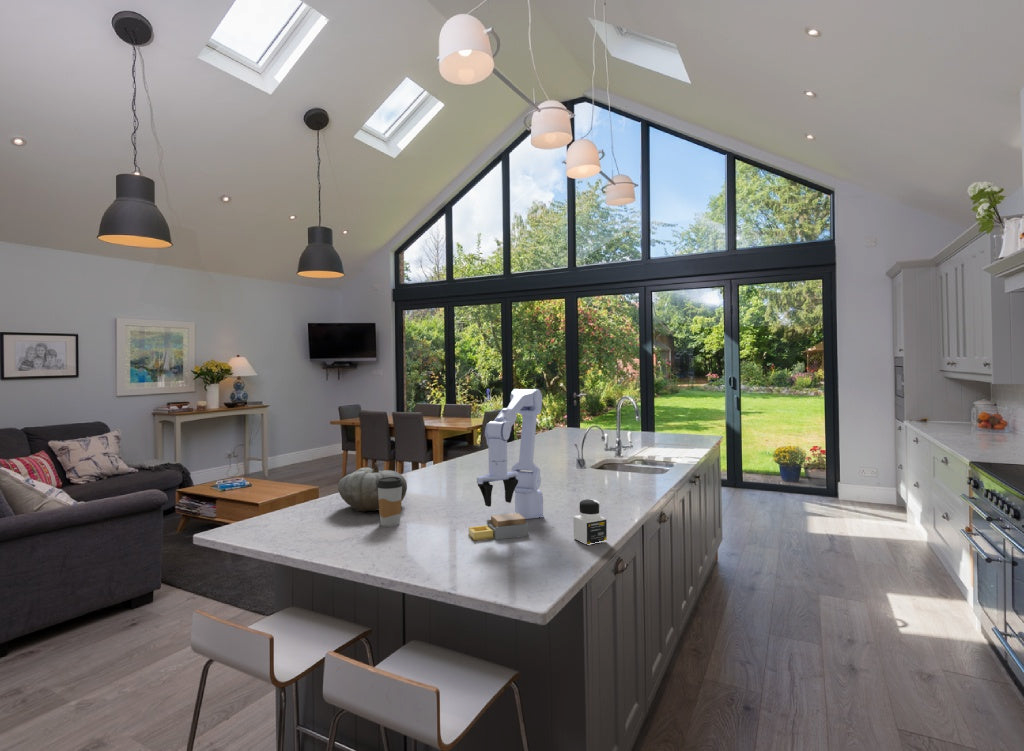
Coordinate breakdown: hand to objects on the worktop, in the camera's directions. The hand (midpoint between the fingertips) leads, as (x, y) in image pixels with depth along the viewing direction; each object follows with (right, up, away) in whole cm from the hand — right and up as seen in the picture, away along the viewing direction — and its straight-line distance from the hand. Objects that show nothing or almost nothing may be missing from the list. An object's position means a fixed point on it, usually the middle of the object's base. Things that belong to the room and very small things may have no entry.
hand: (498, 504), depth 170 cm
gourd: (-47, -10, +34) cm, 59 cm away
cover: (+3, -7, +1) cm, 8 cm away
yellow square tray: (-5, -10, -2) cm, 11 cm away
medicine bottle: (+27, -10, -7) cm, 30 cm away
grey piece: (+3, -9, +1) cm, 10 cm away
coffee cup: (-36, -10, +12) cm, 39 cm away
